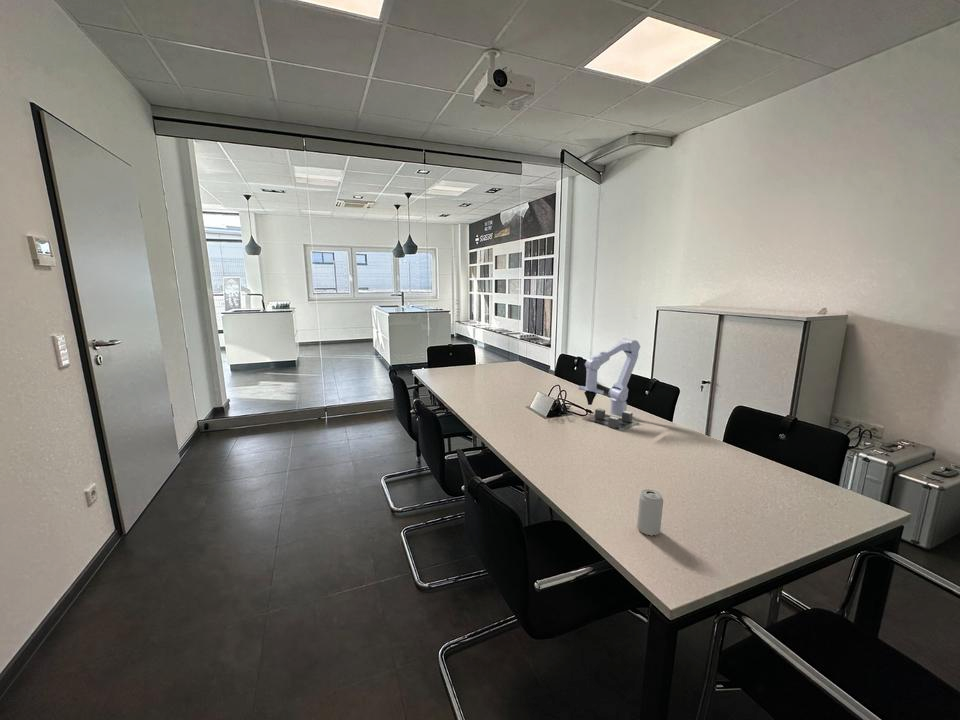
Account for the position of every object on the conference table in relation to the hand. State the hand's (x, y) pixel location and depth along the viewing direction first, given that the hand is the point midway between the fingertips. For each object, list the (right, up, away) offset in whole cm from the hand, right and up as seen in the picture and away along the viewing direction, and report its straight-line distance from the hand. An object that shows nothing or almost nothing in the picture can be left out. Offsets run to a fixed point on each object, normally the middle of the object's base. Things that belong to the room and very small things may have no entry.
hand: (589, 404), depth 219 cm
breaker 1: (+7, -10, -17) cm, 21 cm away
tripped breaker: (+4, -7, -3) cm, 9 cm away
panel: (+9, -10, -7) cm, 15 cm away
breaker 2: (+18, -8, -8) cm, 21 cm away
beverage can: (-11, -27, -101) cm, 105 cm away
